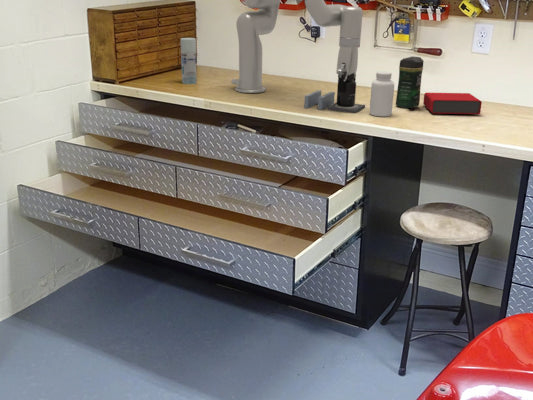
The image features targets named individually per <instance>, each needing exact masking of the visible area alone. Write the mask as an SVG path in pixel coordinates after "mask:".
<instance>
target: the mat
mask: <svg viewBox="0 0 533 400" xmlns="http://www.w3.org/2000/svg"><path fill="white" fill-rule="evenodd" d="M365 108H366V104H359V103H355V105H354V106H353V107H341V106H338V105H337V102H334V104H332V105H330V106H329V107H327V108H326V110H327V111H334V112H340V113H341V112H343V113H351V114H357V113H358V112H360V111H362V110H363V109H365Z"/></svg>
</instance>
